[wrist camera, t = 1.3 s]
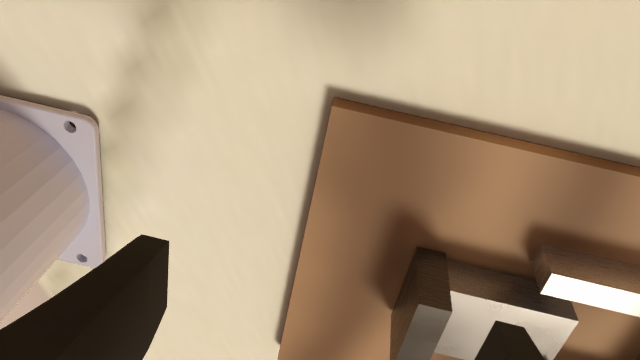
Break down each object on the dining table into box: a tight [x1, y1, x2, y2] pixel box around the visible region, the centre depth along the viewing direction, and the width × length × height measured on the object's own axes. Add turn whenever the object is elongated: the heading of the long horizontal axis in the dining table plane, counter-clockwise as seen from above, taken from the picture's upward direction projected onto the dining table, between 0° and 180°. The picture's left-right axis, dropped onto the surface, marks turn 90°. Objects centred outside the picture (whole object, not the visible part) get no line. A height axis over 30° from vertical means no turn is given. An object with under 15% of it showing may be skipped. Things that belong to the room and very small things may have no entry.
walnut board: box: [278, 97, 640, 360], centre depth 22 cm, size 18×14×1 cm
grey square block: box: [390, 246, 579, 360], centre depth 21 cm, size 6×6×3 cm
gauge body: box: [530, 243, 640, 360], centre depth 20 cm, size 8×7×3 cm
